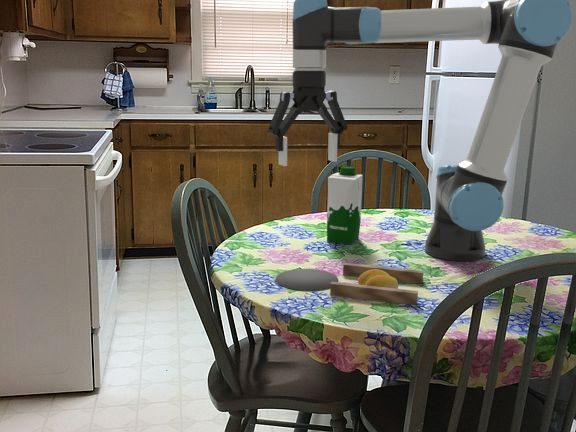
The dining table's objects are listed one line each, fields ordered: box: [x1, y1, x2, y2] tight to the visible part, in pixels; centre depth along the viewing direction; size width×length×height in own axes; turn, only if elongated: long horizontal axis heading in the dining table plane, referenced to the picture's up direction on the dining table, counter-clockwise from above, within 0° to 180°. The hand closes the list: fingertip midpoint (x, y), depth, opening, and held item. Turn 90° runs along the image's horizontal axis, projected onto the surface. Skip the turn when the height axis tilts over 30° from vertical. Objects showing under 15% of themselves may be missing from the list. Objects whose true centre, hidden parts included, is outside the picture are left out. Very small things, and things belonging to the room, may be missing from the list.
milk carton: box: [326, 165, 363, 245], centre depth 173 cm, size 9×9×20 cm
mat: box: [275, 268, 339, 292], centre depth 143 cm, size 14×14×1 cm
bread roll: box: [357, 269, 399, 289], centre depth 138 cm, size 8×9×4 cm
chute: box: [329, 262, 425, 306], centre depth 138 cm, size 18×15×2 cm
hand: (308, 163), depth 148 cm, fingers open, 13 cm apart
